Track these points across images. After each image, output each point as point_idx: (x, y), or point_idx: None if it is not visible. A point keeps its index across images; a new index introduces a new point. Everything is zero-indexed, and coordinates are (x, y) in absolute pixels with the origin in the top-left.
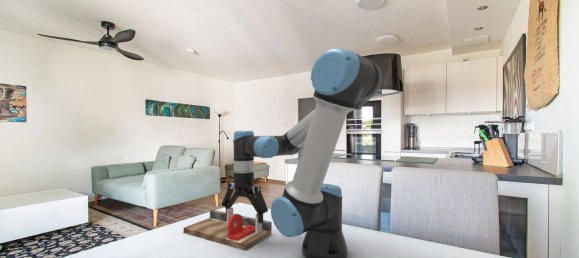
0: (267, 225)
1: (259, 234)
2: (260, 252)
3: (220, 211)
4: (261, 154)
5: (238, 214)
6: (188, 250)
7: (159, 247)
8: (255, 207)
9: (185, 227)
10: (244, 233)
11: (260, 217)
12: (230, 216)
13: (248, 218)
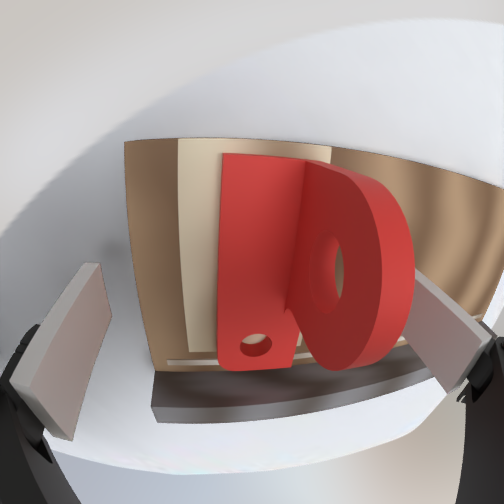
0: (162, 395)
1: (163, 319)
2: (57, 174)
3: None
4: None
5: (355, 356)
6: (423, 37)
7: (496, 57)
8: (9, 474)
9: None
10: (229, 256)
11: (11, 366)
12: (424, 319)
13: (320, 401)
